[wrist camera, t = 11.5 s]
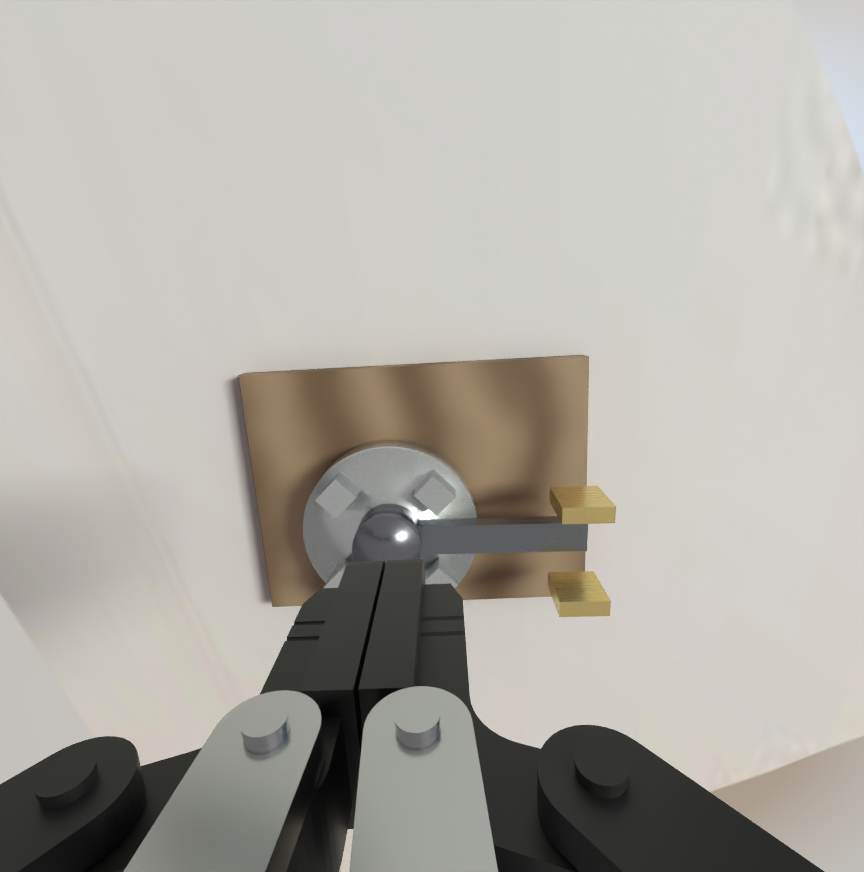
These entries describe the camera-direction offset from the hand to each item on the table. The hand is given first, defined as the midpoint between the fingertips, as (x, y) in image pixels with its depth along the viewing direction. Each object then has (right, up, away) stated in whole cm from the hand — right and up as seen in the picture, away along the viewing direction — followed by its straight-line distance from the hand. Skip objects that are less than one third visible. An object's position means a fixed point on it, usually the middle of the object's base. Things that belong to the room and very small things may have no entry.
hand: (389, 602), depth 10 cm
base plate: (0, 0, +28) cm, 28 cm away
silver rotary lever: (+2, -3, +27) cm, 27 cm away
